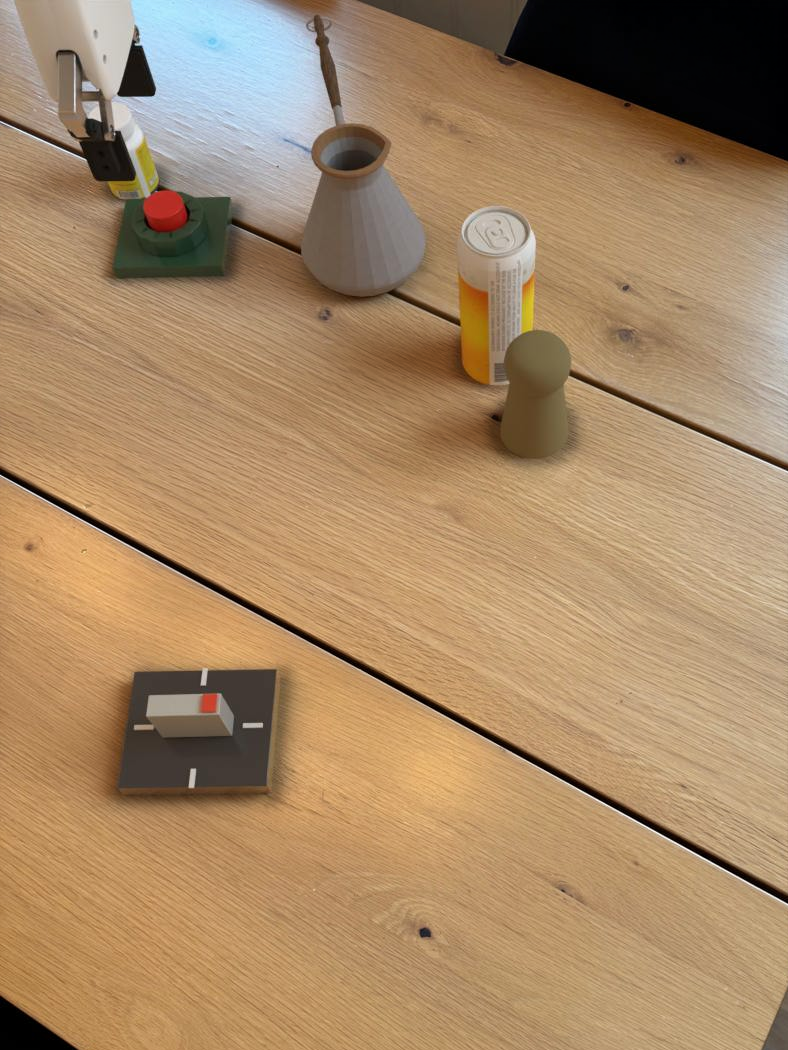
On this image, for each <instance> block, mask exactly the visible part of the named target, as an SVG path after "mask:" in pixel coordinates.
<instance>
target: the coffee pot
mask: <svg viewBox="0 0 788 1050" xmlns="http://www.w3.org/2000/svg"><path fill="white" fill-rule="evenodd" d="M323 20H325V21H329V25H327V26H326V27H325V25H324V22H323ZM312 22H313V28H314V29H312V28H309V25H310V24H311V23H312ZM332 24H333V22H332V19H330V18H329V17H325V16H321V15H320V14H315V15H313V18H310V20H308V21H307V22H306V24H305V28H306V29H307V31H308V32H311V33H316V38H315V41H314V42H315V45H316V46H317V47H318V49H319V50H318V51H319V63H320V71H321V73H322V78H323V82H324V84H325V85H324V86H325V89H326V92H327V96H328V100H329V103H330V107H331V110H332V112H333V118H334V122H335V125H334V126H332V127H329V128H328V129H325V130H324V131H323V132H321V133H320V134H319V135H318V136H317V137H316V138H315V140H314V141H313V144H312V146H311V150H310V152H311V160H312V162H313V164H314V166H315V167H316V168H317V169H318V170H319V171H320V172H321V174H320V178H319V181H318V184H317V188H316V190H315V194H314V197H313V201H312V204H311V207H310V209H309V214H308V218H307V221H306V223H305V227H304V230H303V233H302V236H301V239H300V250H301V251H300V252H301V257H302V260H303V263H304V264H305V267H306V269H307V270H308V271H309V272H310V273H311V274H312V276H313V277H314V278H315V279H316V280H317V281H318V282H319V283H320V284H321V285H323V286H325V287H326V288H328V289H329V290H330V291H333V292H337V293H339V294H342V295H346V296H350V297H351V296H352V297H359V298H364V297H375V296H378V295H381V294H385V293H389V292H391V291H392V290H394V289H397V288H398V287H401V286H402V285H403V284H404V283H405V282H407V281H408V280H410V278H411V277H413V276H414V274H415V273H416V271H417V270H418V268H419V267H420V265H421V263H422V261H423V258H424V256H425V252H426V248H427V238H426V237H427V236H426V231H425V228H424V227H423V225H422V223H421V220H420V218H419V217H418V216H417V213H416V212H415V210H413V208H412V207H411V204H410V203H409V202H408V201H407V199H406V197H405V196H404V195H403V192H402V191H401V190H400V188H399V187H398V185H397V184H396V183H395V181H394V179H393V178H392V176H391V175H390V173H389V171H388V169H386V167H385V166H384V165H385V162H386V160H387V158H388V156H389V154H390V152H391V148H392V145H393V144H392V141H391V140H390V139H389V138H388V137H387V136H386V135H384V134H383V133H382V132H381V131H380V130H378V129H376V128H374V127H372V126H371V125H368V124H367V125H366V124H363V123H354V122H353V123H352V122H351V123H346V122H345V117H344V113H343V110H342V109H343V108H342V107H343V106H342V98H341V93H340V87H339V81H338V74H337V69H336V64H335V62H334V61H335V60H334V59H333V56H332V53H331V50H330V48H329V44H330V38H329V36H327V35H326V33H325V31H328V30H329V29H331V27H332Z"/></svg>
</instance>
